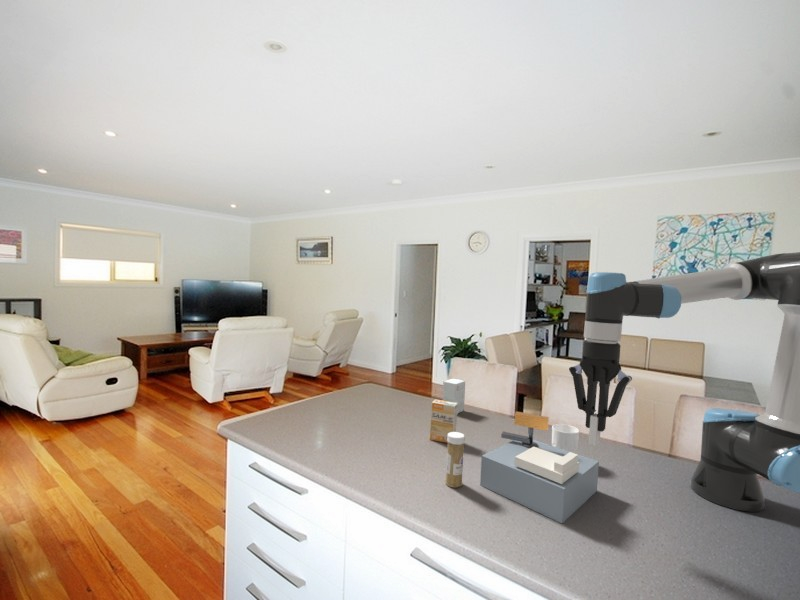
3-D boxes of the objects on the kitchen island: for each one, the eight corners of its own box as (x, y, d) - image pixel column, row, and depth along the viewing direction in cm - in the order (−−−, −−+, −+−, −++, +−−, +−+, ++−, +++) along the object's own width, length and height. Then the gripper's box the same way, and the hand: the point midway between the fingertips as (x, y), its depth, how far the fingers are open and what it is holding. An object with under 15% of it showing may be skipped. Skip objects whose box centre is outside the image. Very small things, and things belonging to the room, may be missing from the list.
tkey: (546, 447, 109) (547, 419, 109) (501, 438, 115) (502, 411, 114) (547, 444, 111) (548, 417, 111) (502, 435, 117) (504, 409, 116)
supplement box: (429, 440, 133) (430, 402, 133) (433, 435, 138) (435, 398, 137) (452, 444, 130) (454, 406, 130) (456, 439, 135) (458, 402, 134)
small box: (451, 407, 170) (453, 378, 170) (464, 410, 166) (465, 380, 166) (441, 411, 164) (443, 381, 163) (454, 415, 160) (456, 384, 159)
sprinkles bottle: (460, 489, 101) (463, 438, 101) (443, 486, 103) (446, 436, 102) (463, 481, 106) (465, 432, 105) (446, 478, 107) (449, 430, 107)
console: (596, 490, 104) (598, 459, 104) (562, 523, 88) (564, 487, 88) (521, 461, 120) (522, 434, 119) (480, 485, 104) (481, 454, 104)
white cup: (580, 467, 118) (582, 434, 117) (552, 463, 119) (554, 431, 119) (573, 456, 125) (575, 425, 125) (548, 453, 127) (549, 422, 126)
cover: (578, 471, 97) (579, 454, 96) (561, 484, 90) (562, 466, 89) (533, 454, 105) (534, 439, 105) (514, 465, 98) (515, 448, 98)
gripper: (639, 343, 86) (630, 448, 87) (578, 336, 95) (571, 430, 96) (628, 346, 81) (620, 457, 82) (566, 337, 90) (558, 438, 91)
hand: (594, 443), depth 89 cm, fingers closed
